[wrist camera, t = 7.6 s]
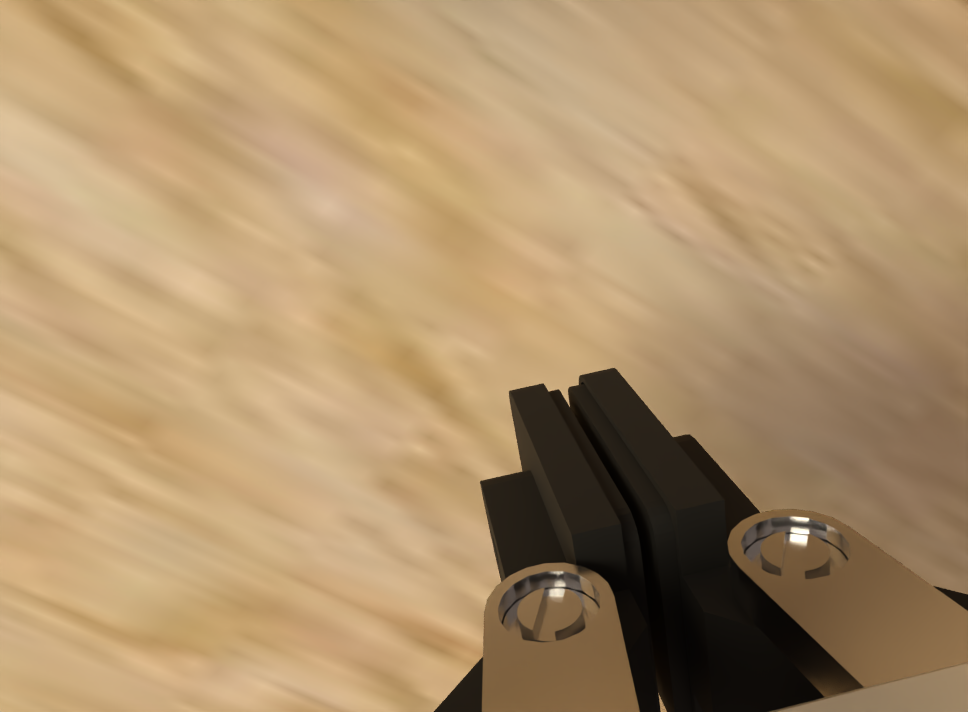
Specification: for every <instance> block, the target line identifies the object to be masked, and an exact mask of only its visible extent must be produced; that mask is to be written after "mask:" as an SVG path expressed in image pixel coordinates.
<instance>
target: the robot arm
mask: <svg viewBox="0 0 968 712" xmlns="http://www.w3.org/2000/svg"><path fill="white" fill-rule="evenodd" d="M568 395H569V402H570V407H569V405H568V404H567V402H566V400H565V399H564V397H563V395H562V393H561V392H560V390H554V391H550V392H548V390H547V388H546V387H545V385H544V384H539V385H534V386H529V387H525V388H520V389H516V390H511V391H509V398H510V405H511V410H512V416H513V421H514V427H515V432H516V438H517V443H518V449H519V454H520V460H521V465H522V471H523V472H518V473H514V474H510V475H505V476H501V477H496V478H492V479H487V480H483V481H480V484H481V489H482V495H483V500H484V504H485V509H486V514H487V519H488V524H489V529H490V533H491V538H492V543H493V547H494V552H495V556H496V561H497V565H498V569H499V574H500V578H501V583H500V584H499V585H497V586H496V587H495V589H494V590H493V592H492V593H491V595H490V596H489V597H488V599H487V603H486V607H485V611H484V636H483V657H482V658H481V659H480V660H479V662H478V663H477V664H476V665H475V666H474V667H473V668H472V669H471V671H470V672H469V673H468V674H467V675H466V676H465V677H464V678H463V680H462V681H461V682H460V683H459V684H458V685H457V686H456V687H455V689H454V690H453V691H452V692H451V693H450V694H449V695H448V696H447V698H446V699H445V700H444V701H443V702H442V703H441V704H440V705H439V706H438V708H437V709H436V710H435V711H434V712H661V711H660V703H659V695H660V697H661V699H662V702H663V704H664V706H665V708H666V710H667V712H968V595H967V594H963V593H959V592H955V591H951V590H947V589H943V588H939V587H935V586H932V585H931V584H929V583H928V582H926V581H925V580H924V579H922V578H921V577H919V576H918V575H917V574H915V573H914V572H912V571H911V570H910V569H908V568H907V567H905V566H904V565H903V564H901V563H900V562H898V561H897V560H896V559H894V558H893V557H891V556H890V555H889V554H887V553H886V552H884V551H883V550H882V549H880V548H879V547H877V546H876V545H875V544H873V543H872V542H870V541H869V540H868V539H866V538H865V537H863V536H862V535H860V534H859V533H858V532H856V531H855V530H853V529H852V528H851V527H849V526H847V525H846V524H844V523H842V522H840V521H838V520H836V519H835V518H833V517H829V516H826V515H823V514H820V513H816V512H813V511H805V510H797V509H782V510H771V511H766V512H762V513H760V512H759V510H758V509H757V508H756V507H755V506H754V505H753V504H752V503H751V501H750V500H749V499H748V498H747V497H746V496H745V495H744V494H743V492H742V491H741V490H740V489H739V488H738V487H737V486H736V485H735V483H734V482H733V481H732V480H731V479H730V478H729V477H728V476H727V474H726V473H725V472H724V471H723V470H722V469H721V468H720V467H719V465H718V464H717V463H716V462H715V461H714V460H713V459H712V458H711V456H710V455H709V454H708V453H707V452H706V451H705V450H704V449H703V447H702V446H701V445H700V444H699V443H698V442H697V441H696V440H695V438H693V437H692V436H691V435H682V436H678V437H672V436H671V435H670V433H669V432H668V431H667V430H666V429H665V427H664V426H663V425H662V424H661V423H660V421H659V420H658V419H657V418H656V417H655V415H654V414H653V413H652V412H651V410H650V409H649V408H648V407H647V406H646V404H645V403H644V402H643V401H642V400H641V398H640V397H639V396H638V395H637V394H636V392H635V391H634V390H633V389H632V388H631V386H630V385H629V384H628V383H627V382H626V380H625V379H624V378H623V377H622V376H621V374H620V373H619V372H618V371H617V370H616V369H615V368H612V369H607V370H602V371H598V372H593V373H589V374H584V375H580V377H579V385H577V386H572V387H569V389H568ZM658 693H659V695H658Z"/></svg>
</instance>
